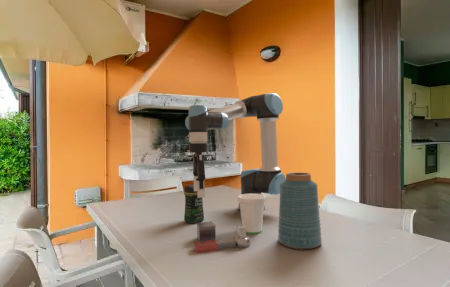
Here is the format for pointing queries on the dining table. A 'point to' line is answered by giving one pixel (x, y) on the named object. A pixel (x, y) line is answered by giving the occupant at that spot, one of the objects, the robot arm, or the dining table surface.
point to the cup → (252, 211)
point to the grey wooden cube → (206, 231)
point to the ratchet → (224, 242)
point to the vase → (299, 212)
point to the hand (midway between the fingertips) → (198, 194)
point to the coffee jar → (193, 205)
